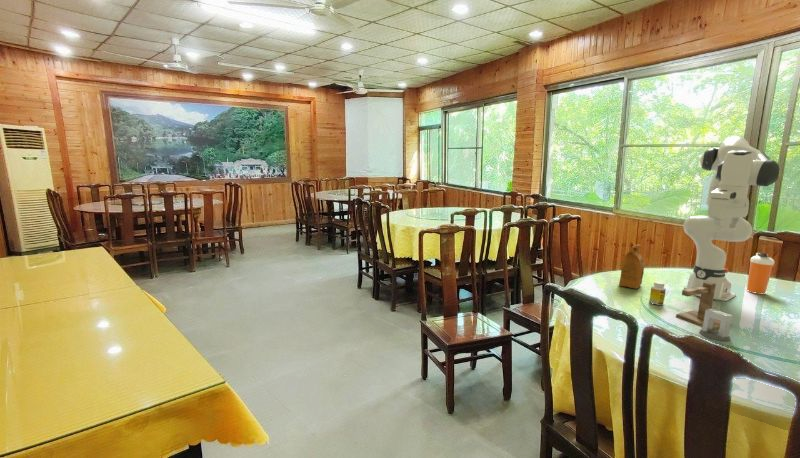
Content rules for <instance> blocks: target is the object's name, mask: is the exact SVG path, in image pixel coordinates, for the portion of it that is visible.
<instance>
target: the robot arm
mask: <svg viewBox="0 0 800 458" xmlns="http://www.w3.org/2000/svg"><path fill="white" fill-rule="evenodd" d="M699 162H700V165H701V169H702V170H704V171H709V172H711V171H714V173H713V176H712V178H711V180H710V184H709V188H708V192H707V196H706V197H707V198H706V205H707V207H708V209H707V215H691V216H688V217H687V218H686V219H685V220H684V223H683V226H682V228H683V231H684V233H685V234H686V235H687V236H689V238H690V239H691V240H692V241H693V242H694V244H695V247H696V259H695V264H694V265H693V271H692V273H690V275H689V278H688V281H687V283H686V284H687V285H686V286H684V287H683V290H685V289H691V288H697V287H702V286H703V282H711V283H715V284H716V287H715V292H714V297H713V300H718V301H723V302H724V301H729V300H731V299H733V298H734V297H736V295H737V294H736V292H733V291H731V289H732V283H731V281H729V280H728V278H726V274H728V273H729V269H728V268H725V265H726V260H727V253H726V252H725V250H724V249H722V248H720V247H718V246H717V245H715V244H713V242H712V241H713V240H716V241H723V242H730V243H731V242H734V243H736V242H737V243H738V242H745V241H747V240H749V239H750V238H751V236H752V234H753V227H752V225H751V223H750V222H749V221H748V220H746V219H745V218H746V217H747V216H748V214H749V210H750V209H749V207H750V200H749V198H748V193H749V188H750V186H758V187H764V188H765V187H769V186H771V185H773V184H775V183H776V182H777V181H778V179H779V177H780V173H781V168H780V164H778V162H777V161H776V160H774V159H771V158H770V157H769V156H768V155H767V153H765V152H764V151H762V150H759V149H757V148H755V147H753V146H751V145H750V143H749V142H748V140H746V139H745V138H744V137H742V136H737V135H734V136H729V137H727V138H725V139H724V140H723V141H722V142H721V143H720V145H719V147H715V146H714V147H713V148H707V149H706V150H705V151H704V152H703V154H702V155H701V156H700V161H699ZM694 296H695V297H699V298H701V294H698V295H694Z"/></svg>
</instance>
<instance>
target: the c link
mask: <svg viewBox="0 0 800 458" xmlns="http://www.w3.org/2000/svg"><path fill="white" fill-rule="evenodd" d="M714 319H716V320H719V321H721V323H720V328H719V329H718V331H719V333H718V338H721V339H725V338H728V336H729V337H730V330H731V326H732V320H733V314H730V313H727V312H724V311H721V310H718V309H714V308H713V307H712V308H711V309H706V311H705V316H704V321H703V327H702V326H701V327H702V328H701V329H702V331H703V332H705V333H708V332H712V328H713V323H714Z"/></svg>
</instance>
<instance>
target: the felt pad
mask: <svg viewBox="0 0 800 458" xmlns="http://www.w3.org/2000/svg"><path fill="white" fill-rule="evenodd" d="M698 333H699V334H700V335H701V336H702V337H705V338H707V339H709V340H712V341H717V342H729V341H730V340H731V337H730V335H729V336H728V338H725V339H721V338H718V333H719V330H712V332H708V333H705V332H703V331H702V328H701V329H700V330H699V332H698Z"/></svg>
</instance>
